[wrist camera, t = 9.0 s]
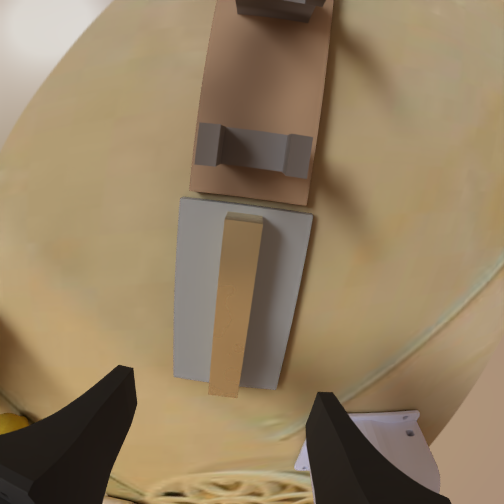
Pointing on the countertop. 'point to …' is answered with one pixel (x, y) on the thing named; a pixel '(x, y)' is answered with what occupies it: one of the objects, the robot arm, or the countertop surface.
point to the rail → (234, 300)
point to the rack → (262, 99)
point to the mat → (264, 294)
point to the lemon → (12, 422)
